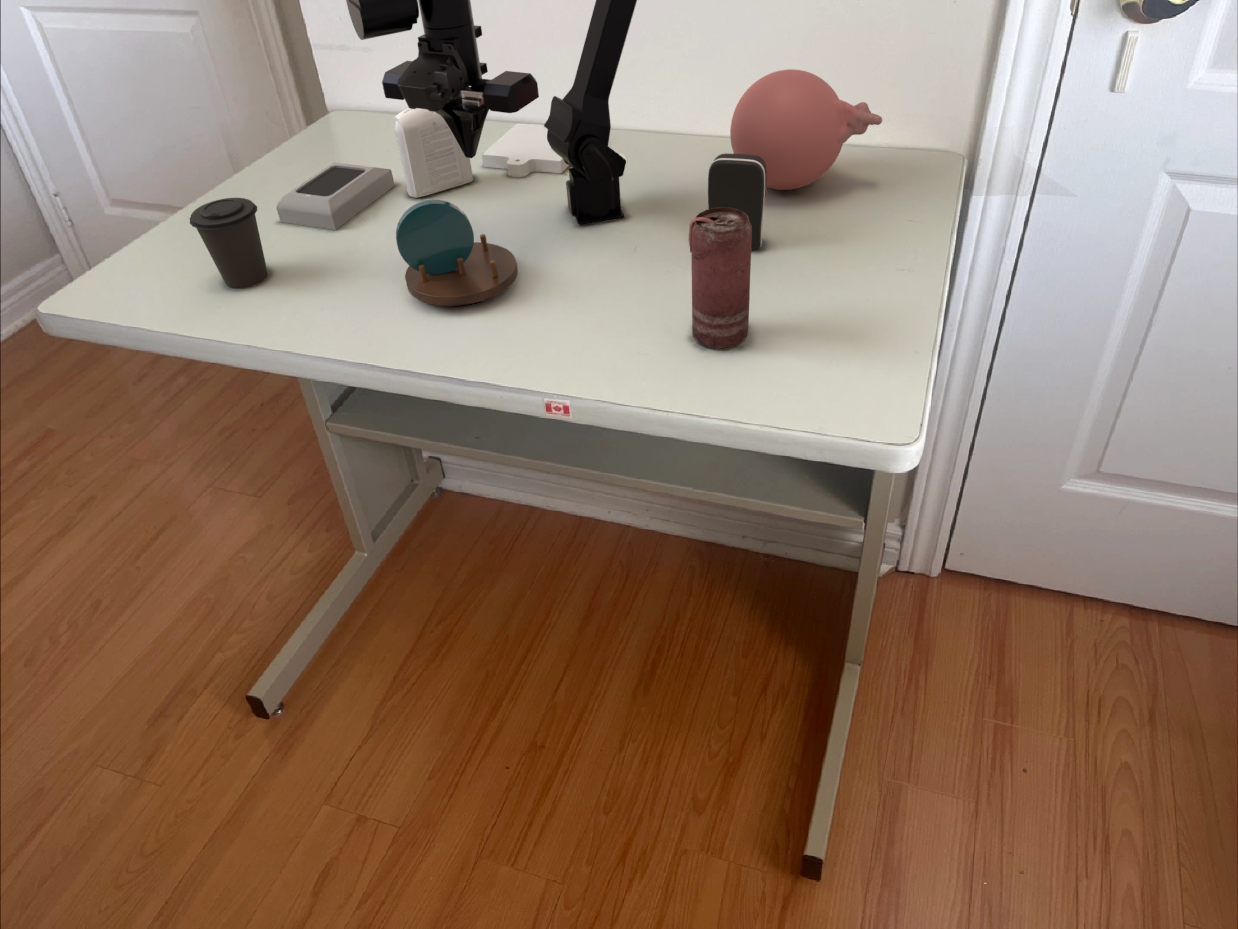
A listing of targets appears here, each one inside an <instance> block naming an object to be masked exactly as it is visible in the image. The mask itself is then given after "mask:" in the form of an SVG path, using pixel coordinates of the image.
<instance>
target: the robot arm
mask: <svg viewBox="0 0 1238 929" xmlns="http://www.w3.org/2000/svg"><path fill="white" fill-rule="evenodd" d="M345 2H346V6H347V11H348V14H349V17H350V20H351V23H352V26H353V28H354V30H355V33H356V35H357V37H358V38H359V39H360V40H361V41H363V40H368V39H369V40H370V39H373V38H378V37H384V36H388V35H393V34H398V33H404V32H408V31H412V29H413V26H414V25H415V24H418V19H419V17H421V24H422V28H423V34H421V35H420V36H418V37H417V40H418V41H417V49H418V53H417V55H418V56H417V57H416V58H415V59H414V60H412V61H411V60H405V61H403V62H402V63H400V64H398V65H396V66H394V67H392V68H390V69H388V70H386V71H385V72H384V74H383V78H382V81H381V85H382V89H383V93H384V98H385V99H391V100H398V101H404V100H405V103H406V105H407V108H411V109H416V108H420V109H427V110H429V111H432V112H436V113H437V114H439V115H441V116H442V117H443V119H444V120H445V122H446V123H447V125H448V126H449V128H450V130H451V131H452V133H453V135H454V137H455V139H456V140H457V142H458V144H459V146H460V148H461V150H462V151H463V153H464V155H465V157H466V158H470V159H473V158H474V157H475V156H476V155H477V153H478V152H477V151H478V148H479V144H480V140H481V137H482V132H483V130H484V126H485V122H486V120H487V116H488V113H489V111H490V112H498V113H504V114H505V113H506V114H513V113H514V114H515V113H517V112H519V111H521V110H522V109H523V108H525V107H526V106H528V105H529V104H531V103H533V102H534V101H535V100H537V99H538V98H540V97H539V96H540V95H539V87H538V86H539V85H538V81H537V79H536V78H535V77H534V76H533V74H532V73H530V72H521V71H520V72H519V71H512V70H511V71H510V70H505V71H503V72H501V73H500V74H499V75H497V76H495V77H493V78H492V79H488V78H483V75H485V74H487V73H488V72H489V71H488V63H487V62H481V61H480V54H479V48H478V41H477V39H478V38H480V37H482V36H483V30H482V25H475V22H474V21H475V20H474V16H473V9H472V8H473V7H472V4H471V3H472V2H471V0H346V1H345ZM637 2H638V0H595V3H594V6H593V7H594V8H593V10H592V14H591V17H590V20H589V26H588V28H587V33H586V37H585V39H584V43H583V47H582V51H581V54H580V58H579V61H578V65H577V70H576V73H575V75H574V76H575V77H574V81H573V84H572V86H571V88H570V89H569V91H568V92H567V93H566V94H565V95H564V96H563V98H560V97H558V96H556V95H554V96H552V100H551V102H550V111H549V115H548V118H547V119H546V122H545V123H544V124H543V125H544V127H545V128H547V129H548V131H547V141H548V142H549V145H550V147H551V149H552V150H553V151H554V152H555V153H556V154H558V155H559V156H560V157H562V158H563V160H564V162H565V163H566V164H568V165H569V166H570V168H569V167H568V175H569V179H568V180H566V181H565V188H566V189H565V190H566V198H567V208H568V211H569V213H570V215H571V217H573V218H574V219H575V221H576V224H577V225H579V226H586V225H591V224H592V225H593V224H598V223H603V222H609V221H616V220H622V219H625V218H626V217H625V212H624V210H623V208H622V200H621V184H620V177H623V176H624V174H625V169H626V166H627V159H626V158H624V157H623V156H622V155H620V154H619V153H618V152H616V151H615V150H614V149H612V148H611V147H609V143H610V136H611V127H612V124H611V123H612V122H611V114H610V104H609V101H610V95H611V92H612V88H613V85H614V81H615V78H616V74H617V71H618V68H619V65H620V61H621V57H622V54H623V52H624V47H625V44H626V39H627V37H628V34H629V29H630V26H631V23H632V19H633V16H634V14H635V13H634V12H635V9H636V6H637Z"/></svg>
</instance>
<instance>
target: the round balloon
mask: <svg viewBox="0 0 1238 929" xmlns="http://www.w3.org/2000/svg"><path fill="white" fill-rule="evenodd" d="M730 121H731V122H730V131H729V132H730V135H729V136H730V144H731V145H730V146H731V149H732V154H748V155H756V156H759V157H761V158H762V159H763V160H764V161H765V163H766V169H767V181H766V188H768V189H773V190H779V191H788V190H797V189H801V188H803V187H806V186H808V185H810V184H812V183H814V182H816V181H818V180H819V179H820V178H821V177H822V176H824V175H825V174H826V173H827V172H828V171H829V170H830V169H831V167H833V165H834V164H835V162H836V160H838V157H839V155H840V153H841V150H842V148H843V145H844V144H845V143H846V142H847V141H848V140H849V139H850V138H851V137H852V136H860V135H863V134H865V133H867V130H868V127H869V126H874V125H875V126H879V125H881V124H882V123H883V117H882V116H880V115H879V114H877V113H873V112H871V110H870V107H869V105H868V103H867V102H864V101H862V102H859V103H857V104H855V105H853V104H851V103H849V102H847V101H845V100H843V99H840V98H839V96H838V95H837V92H836V91H835V90H834V89H833V87H832V86H831V85H830V84H829V83H828V82H826V81H825V80H824V79H822V78H821V77H820V76H818V75H816V74H815V73H812V72H810V71H806V70H802V69H795V68H792V69H789V68H788V69H782V70H777V71H776V70H775V71H773V72H771V73H768V74H766V75H764V76H762V77H761V78H759V79H757V80H756V81H755V82H754V83H753V84H751V85H750V86H749V87H748V88H747V89H746V90H745V92H744V93H743V94H742V95H741V97H740V99H739V100H738V102H737V104H736V106H735V108H734V111H733V114H732V117H731V120H730Z"/></svg>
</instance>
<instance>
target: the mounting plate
mask: <svg viewBox="0 0 1238 929" xmlns="http://www.w3.org/2000/svg"><path fill="white" fill-rule="evenodd" d="M547 131H548V129H547V128H545V127H544V124H532V123H519V122H518V123H515V124H514V125H513V126H512V127H511V128H510V129H509V130H507V131H506V132H505V133H504V134H503V135H502V136H500V138H499V139H497V140H496V141H495V142H494V143H493V144H492V145H490V146H489V147H488V149H486V150H485V151H484V152H483V153H482V154H481V157H482V158H481V159H482V163H483V164H482V165H483V168H493V169H503V170H504V169H506V170H507V174H508V176H509V177H513V178H523V177H527V176H528V175H529V174H530V173H534V172H540V173H551V174H563V173H564V172H565V170H566V169H568V168H569V166H570V165H568V164H566V163H565V162H564V160H563V158H562V157H560V156H559V155H558V154H556V153H555V152H554V151H553V150H552V149H551V147H550V145H549V142H548V141H547Z"/></svg>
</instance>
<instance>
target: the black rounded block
mask: <svg viewBox="0 0 1238 929" xmlns="http://www.w3.org/2000/svg"><path fill="white" fill-rule="evenodd" d="M707 174H708V175H707V205H708V208H707V210H708V209H712V208H720V207H723V208H733V209H738V210H740V211H743V212H744V213H745V214H747V216H748V218H749V221H750V223H751V225H752V241H751V250H760V249H761V247H762V245H763V221H764V220H763V219H764V211H765V210H764V209H765V202H766V201H765V200H766V196H767V187H766V181H767V169H766V163H765V161H764V160H763V159H762V158H761V157H759V156H756V155H748V154H734V153H721V154H719V155H717V156H716V157H715V158H714V159H713V161H712V162H711V163H710V166H709V168H708V173H707Z"/></svg>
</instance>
